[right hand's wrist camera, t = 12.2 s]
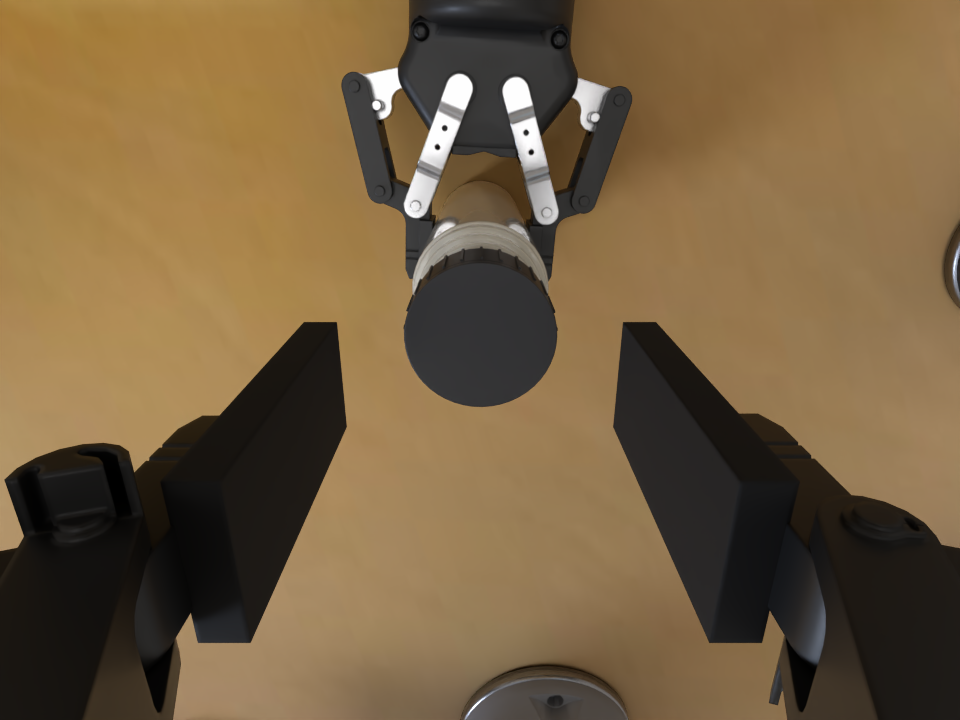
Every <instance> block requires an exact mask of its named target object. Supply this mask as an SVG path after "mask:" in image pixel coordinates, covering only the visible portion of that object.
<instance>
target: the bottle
mask: <svg viewBox="0 0 960 720" xmlns="http://www.w3.org/2000/svg"><path fill="white" fill-rule="evenodd" d="M480 246H483V248H488V249H494V250H498V249H501V251H502V252H505V253H508V254H510V255H512V256H514V257H515V256H518V259H519V260H521V261H522V262H523V263H525V264H526V265H527V266H528V267H530V266H531V267H532V269H533V271H534V273H535V274H536V276H537V277H538V279H539V280H542V281H543V283H544V286H545V288H546V291H547V293H548V277H547V271H546V268H545V265H544V262H543V260H542V258H541V256H540V254H539V252H538V250H537V248H536V246H535V243H534V241H533V239H532V237H531V235H530V233H529V231H528V229H527V227H526V224H525V222H524V220H523V218H522V216H521V214H520V212H519V210H518V207H517V205H516V203H515V201H514V200H513V198H512V197H511V195H510V194H509V193H508V192H507V191H506V190H505V189H503V188H502V187H500V186H499V185H497V184H494V183H491V182H487V181H473V182H469V183H466V184H464V185H462V186H460V187H458V188H457V189H456V190H454V191H453V192H452V193H451V194H450V196H449V197H448V198H447V200H446V202H445V204H444V206H443V208H442V210H441V212H440V215H439V217H438V219H437V221H436V223H435V225H434V228H433V230H432V232H431V234H430V236H429V238H428V240H427V243H426V245H425V247H424V249H423V251H422V253H421V256H420V258H419V260H418V262H417V265H416V268H415V271H414V275H413V283H412V292H413V294H414V292H415V289H416V287H417V284H418V282H419V280H420V279H423V277H424V276H425V275H426V273H427V272H428V271H429V268H430V266H431V265H433V266H434V265H435V264H436V263H438V262H439V261H441V260H442V259H443V258H444V256H445V255H447V256H449V255H451V254H454V253H456V252H459V251H461V250H462V249H463V248H464V249H465V250H467V249H475V248H480ZM414 295H415V294H414Z"/></svg>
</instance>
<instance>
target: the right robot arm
mask: <svg viewBox="0 0 960 720" xmlns="http://www.w3.org/2000/svg"><path fill="white" fill-rule="evenodd" d="M346 427H347V425H346V414H345V404H344V393H343V382H342V372H341V361H340V351H339V340H338V329H337V322H304V323H303V324H302V325H301V326H300V327H299V328H298V329H297V331H296V332H295V333H294V334H293V335H292V336H291V337H290V338H289V339H288V341H287V342H286V343H285V344H284V345H283V346H282V347H281V348H280V349H279V350H278V352H277V353H276V354H275V355H274V356H273V357H272V358H271V359H270V360H269V362H268V363H267V364H266V365H265V366H264V367H263V368H262V369H261V370H260V371H259V373H258V374H257V375H256V376H255V377H254V378H253V379H252V380H251V381H250V383H249V384H248V385H247V386H246V387H245V388H244V389H243V390H242V391H241V392H240V394H239V395H238V396H237V397H236V398H235V399H234V400H233V401H232V402H231V404H230V405H229V406H228V407H227V408H226V409H225V410H224V411H223V412H222V413H221V415H220V416H201V417H199V418H197V419H196V420H194V421H192V422H190V423H188V424H186V425H184V426H183V427H181V428H179V429H178V430H177V431H176V432H175V433H174V434H173V435H172V436H171V437H170V438H169V439H168V440H167V441H166V442H165V443H164V444H163V446H162V448H159V449H158V450H157V451H155V452H154V453H153V454H152V455H151V456H150V457H149V461H145V462H144V463H143V464H142V465H141V466H140V467H139V468H138V469H137V470H136V471H135V472H134V470H133V466H132V462H131V458H130V454H129V451H127V450H126V449H124V448H123V447H121V446H120V445H114V444H107V443H95V444H82V445H77V446H73V447H68V448H63V449H59V450H56V451H54V452H51V453H48V454H45V455H42V456H40V457H37V458H35V459H33V460H31V461H29V462H28V463H26V464H24V465H22V466H20V467H18V468H17V469H16V470H15V471H13V472H12V473H11V474H10V475H9V476H8V477H7V478H6V479H5V483H6V486H7V489H8V491H9V494H10V497H11V500H12V503H13V506H14V509H15V511H16V514H17V517H18V520H19V523H20V526H21V529H22V532H23V534H24V538H23V539H22V541H21V543H20V545H19V546H18V548H14V549H9V550H4V551H0V720H173V715H174V708H175V701H176V695H177V688H178V681H179V674H180V667H181V660H180V653H179V648H178V644H177V640H176V636H177V635H178V633H179V631H180V630H181V628H182V626H183V625H184V623H185V621H186V620H187V618H188V616H189V615H190V613H191V615H192V619H193V624H194V628H195V632H196V636H197V641H198V643H251V641H252V638H253V636H254V634H255V632H256V629H257V627H258V625H259V623H260V620H261V618H262V616H263V614H264V611H265V609H266V607H267V605H268V602H269V600H270V598H271V596H272V593H273V591H274V589H275V587H276V584H277V582H278V580H279V578H280V576H281V573H282V571H283V569H284V567H285V564H286V562H287V560H288V558H289V555H290V553H291V551H292V549H293V546H294V544H295V542H296V540H297V537H298V535H299V533H300V531H301V528H302V526H303V524H304V522H305V519H306V517H307V515H308V513H309V510H310V508H311V506H312V504H313V501H314V499H315V497H316V495H317V492H318V490H319V488H320V486H321V483H322V481H323V479H324V477H325V474H326V472H327V470H328V468H329V466H330V463H331V461H332V459H333V457H334V454H335V452H336V450H337V448H338V445H339V443H340V441H341V439H342V436H343V434H344V432H345V430H346ZM613 427H614V430H615V432H616V434H617V436H618V439H619V441H620V443H621V445H622V448H623V450H624V452H625V454H626V457H627V459H628V461H629V463H630V466H631V468H632V470H633V472H634V474H635V477H636V479H637V481H638V483H639V486H640V488H641V490H642V492H643V495H644V497H645V499H646V501H647V504H648V506H649V508H650V510H651V513H652V515H653V517H654V519H655V522H656V524H657V526H658V528H659V531H660V533H661V535H662V537H663V540H664V542H665V544H666V546H667V549H668V551H669V553H670V555H671V558H672V560H673V562H674V564H675V567H676V569H677V571H678V573H679V576H680V578H681V580H682V582H683V584H684V587H685V589H686V591H687V593H688V596H689V598H690V600H691V602H692V605H693V607H694V609H695V611H696V614H697V616H698V618H699V620H700V623H701V625H702V627H703V629H704V632H705V634H706V636H707V638H708V641H709V643H762V641H763V636H764V632H765V628H766V624H767V619H768V615H769V611H770V612H771V613H772V615H773V617H774V618H775V620H776V622H777V623H778V625H779V627H780V628H781V630H782V632H783V633H784V635H785V636H784V640H783V644H782V648H781V652H780V656H779V660H778V664H777V668H776V672H775V676H774V680H773V684H772V688H771V693H770V700H769V703H771V704H775V705H778V702H779V699H780V695H781V692H782V691H783V693H784V700H785V707H786V714H787V720H960V548H955V547H950V546H945V545H941V544H940V542H939V540H938V538H937V537H936V535H935V534H934V533H933V532H932V531H931V530H930V528H929V527H928V526H927V525H926V524H925V523H924V522H922V521H921V520H919V519H918V518H916V517H915V516H913V515H912V514H910V513H909V512H907V511H905V510H903V509H900V508H898V507H896V506H893V505H891V504H889V503H886V502H883V501H879V500H875V499H872V498H868V497H864V496H853V495H851V494H850V493H849V492H848V491H847V490H846V489H845V488H844V487H843V486H842V485H841V484H840V483H839V482H838V481H837V480H836V479H835V478H833V477H832V476H831V475H830V474H829V473H828V472H827V471H826V470H825V469H824V468H823V467H822V466H821V465H820V464H819V463H818V462H817V461H816V460H815V459H811V455H810V454H809V453H808V452H807V451H806V450H805V449H804V448H803V447H802V446H801V445H798V442H797V441H796V440H795V439H794V438H793V437H792V436H791V435H790V434H789V433H788V432H787V431H786V430H785V429H784V428H783V427H782V426H780V425H778V424H776V423H774V422H772V421H770V420H769V419H767V418H765V417H763V416H761V415H759V414H739V413H738V412H737V411H736V410H735V409H734V408H733V407H732V406H731V405H730V404H729V402H728V401H727V400H726V399H725V398H724V397H723V396H722V395H721V394H720V392H719V391H718V390H717V389H716V388H715V387H714V386H713V385H712V384H711V383H710V381H709V380H708V379H707V378H706V377H705V376H704V375H703V374H702V373H701V371H700V370H699V369H698V368H697V367H696V366H695V365H694V364H693V363H692V362H691V360H690V359H689V358H688V357H687V356H686V355H685V354H684V353H683V352H682V350H681V349H680V348H679V347H678V346H677V345H676V344H675V343H674V342H673V341H672V339H671V338H670V337H669V336H668V335H667V334H666V333H665V332H664V331H663V329H662V328H661V327H660V326H659V325H658V324H657V323H656V322H623V329H622V340H621V351H620V361H619V372H618V382H617V393H616V404H615V414H614V425H613ZM461 720H628V716H627V712H626V709H625V706H624V704H623V702H622V700H621V699H620V697H619V696H618V695H617V693H616V692H615V691H614V690H613V689H612V688H611V687H609V686H608V685H607V684H606V683H604V682H603V681H601V680H600V679H598V678H596V677H594V676H592V675H589V674H587V673H584V672H581V671H578V670H574V669H570V668H564V667H554V666H541V667H531V668H525V669H520V670H516V671H512V672H509V673H507V674H504V675H502V676H499V677H497V678H495V679H494V680H492V681H490V682H488V683H487V684H486V685H484V686H483V687H481V688H480V689H479V690H478V691H477V692H476V693H475V694H474V695H473V696H472V697H471V699H470V700H469V701H468V703H467V704H466V706H465V708H464V710H463V713H462V716H461Z"/></svg>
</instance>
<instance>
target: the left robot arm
mask: <svg viewBox="0 0 960 720" xmlns="http://www.w3.org/2000/svg"><path fill="white" fill-rule="evenodd" d="M573 10H574V0H409V38H408V43H407V46H406V49H405V51H404V53H403V55H402V57H401V59H400V61H399V65H398V67H397V68H392V69H387V70H383V71H378V72H373V73H368V74H361V73H357V72H350V73H348V74H346V75H345V76H344V78H343V80H342V91H343V95H344V99H345V103H346V107H347V111H348V115H349V119H350V123H351V127H352V131H353V135H354V139H355V143H356V147H357V151H358V155H359V159H360V163H361V167H362V172H363V176H364V180H365V184H366V188H367V192H368V195H369V197H370V199H371V200H372V201H374V202H376V203H379V204H382V203H384V204H386V205H388V206H391V207H393V208H395V209H397V210H399V211H400V212H401V213H402V214H403V216H404V217H405V220H406V271H407V274H408V276H409V279H413V275H414V271H415V268H416V265H417V262H418V260H419V258H420V256H421V253H422V251H423V249H424V247H425V245H426V243H427V240H428V238H429V236H430V234H431V232H432V230H433V228H434V225H435V221H436V215H432V201H433V198H434V196H435V193H436V190H437V188H438V185H439V183H440V180H441V178H442V175H443V173H444V170H445V168H446V165H447V163H448V160H449V158H450V155H451V153H452V154H458V155H470V154H475V153H479V152H488V153H491V154H494V155H497V156H499V157H513V158H517V162H518V166H519V169H520V173H521V176H522V179H523V182H524V186H525V190H526V193H527V197H528V200H529V204H530V208H531V220H526V227H527V229H528V231H529V233H530V235H531V237H532V239H533V241H534V243H535V246H536V248H537V250H538V252H539V254H540V256H541V258H542V260H543V262H544V265H545V268H546V271H547V277H548V281H549V279H550V277H551V274H552V263H553V253H554V242H555V232H556V228H557V225H558V224H559V222H560V221H561V220H563V219H564V218H566V217H569V216H573V215H576V214H579V213H582V214H584V213H588V212H590V211H591V210H592V209H593V208H594V206H595V204H596V201H597V199H598V196H599V193H600V190H601V187H602V185H603V182H604V179H605V176H606V173H607V171H608V168H609V165H610V162H611V159H612V157H613V154H614V151H615V148H616V145H617V143H618V140H619V137H620V134H621V131H622V129H623V126H624V123H625V120H626V117H627V115H628V112H629V109H630V106H631V103H632V95H631V93H630V91H629V90H628V89H627V88H625V87H623V86H618V87H614V88H608V87H605V86H602V85H599V84H596V83H593V82H590V81H587V80H584V79H581V78H578V73H577V69H576V67H575V64H574V62H573V59H572V55H571V45H570V43H571V31H572V21H573ZM401 90H404V92H405V93H406V95H407V97H408V98H409V100H410V101H411V103H412V104H413V106H414V108H415V109H416V111H417V112H418V114H419V116H420V117H421V119H422V120H423V122H424V123H425V125H426V127H427V128H428V130H429V134H428V137H427V139H426V142H425V145H424V148H423V150H422V153H421V156H420V158H419V161H418V164H417V168H416V171H415V174H414V177H413V179H412V182H411V185H410V184H407V183H405V182H403V181H401V180H398V179H397V178H396V173H395V169H394V165H393V160H392V156H391V151H390V147H389V143H388V138H387V134H386V130H385V125H384V121H383V120H385V119H388V118H389V117H390V116H391V115H392V114H393V112H394V98H395V96H396V94H397V93H398V92H399V91H401ZM570 99H572V100H573V101H574V102H575V103H576V105H577V107H578V116H577V121H578V124H579V126H580V127H581V128H582V129H583V130H585V131H586V134H585V137H584V140H583V143H582V146H581V149H580V152H579V155H578V158H577V161H576V164H575V167H574V170H573V173H572V176H571V179H570V182H569V185H568V188H566V189H563V190H559V191H556V192H554V190H553V186H552V182H551V179H550V172H549V167H548V163H547V159H546V155H545V152H544V148H543V144H542V140H541V136H542V135H543V134H544V132H545V131H546V130H547V128H548V127H549V126H550V125H551V123H552V122H553V121H554V120H555V118H556V117H557V116H558V114H559V113H560V112H561V111H562V109H563V108H564V107H565V106H566V104H567V103H568V102H569V101H570ZM945 281H946V285H947V289H948V291H949V294H950V296H951V297H952V299H953V300H954V302H955V303H956V304H957V305H958V306H959V307H960V225H959V227H958V229H957V230H956V232H955V234H954V236H953V238H952V240H951V243H950V245H949V248H948V251H947V255H946V260H945Z"/></svg>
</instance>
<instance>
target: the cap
mask: <svg viewBox="0 0 960 720" xmlns="http://www.w3.org/2000/svg"><path fill="white" fill-rule="evenodd" d="M414 294H415V295H414ZM414 294H413V295H412V297H411V300H410V302H409V305H408V307H407V310H406V311H408V313H407V317H406V321H405V325H404V341H405V348H406V352H407V356H408V359H409V361H410V363H411V365H412V367H413V369H414V371H415V372H416V374H417V375H418V377H419V378H420V379H421V380H422V382H423V383H424V384H425V385H427V386H428V387H429V388H430V389H431V390H432V391H434V392H435V393H436V394H438V395H440V396H441V397H443V398H445V399H447V400H450V401H452V402H454V403H458V404H462V405H466V406H473V407H487V406H495V405H500V404H503V403H506V402H509V401H512V400H514V399H516V398H518V397H520V396H521V395H523V394H525V393H526V392H528V391H529V390H530V389H531V388H532V387H534V386H535V385H536V384H537V383H538V382H539V381H540V379H541V378H542V377H543V375H544V374H545V373H546V371H547V369H548V368H549V366H550V364H551V361H552V359H553V356H554V353H555V349H556V343H557V331H558V328H557V326H556V320H555V316H554V313H555V310H554V307H553V305H552V302H551V300H550V297H549V296H548V293H547V291H546V288H545V286H544V283H543V281H542V280H539V279H538V277H537V276H536V274H535V273H534V271H533V269H532V267H531V266H530V267H528V266H527V265H526V264H525V263H523V262H522V261H521V260H519V259H518V256H515V257H514V256H512V255H510V254H508V253H505V252H502V251H501V249H498V250H494V249H488V248H483V246H480V248H475V249H467V250H465V249H464V248H463V249H462V250H461V251H459V252H456V253H454V254H451V255H449V256H447V255H445V256H444V258H443V259H442V260H441V261H439V262H438V263H436V264H435V265H434V266H433V265H431V266H430V268H429V271H428V272H427V273H426V275H425V276H424V277H423V279H420V280H419V282H418V284H417V287H416V289H415V292H414Z"/></svg>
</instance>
